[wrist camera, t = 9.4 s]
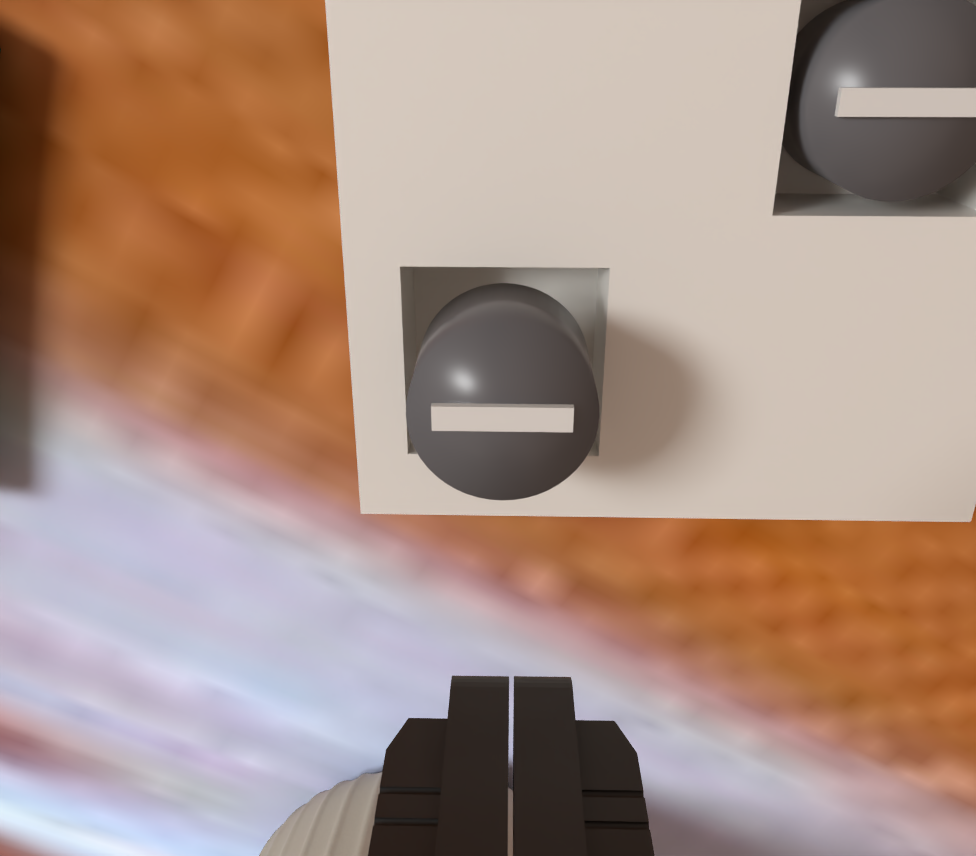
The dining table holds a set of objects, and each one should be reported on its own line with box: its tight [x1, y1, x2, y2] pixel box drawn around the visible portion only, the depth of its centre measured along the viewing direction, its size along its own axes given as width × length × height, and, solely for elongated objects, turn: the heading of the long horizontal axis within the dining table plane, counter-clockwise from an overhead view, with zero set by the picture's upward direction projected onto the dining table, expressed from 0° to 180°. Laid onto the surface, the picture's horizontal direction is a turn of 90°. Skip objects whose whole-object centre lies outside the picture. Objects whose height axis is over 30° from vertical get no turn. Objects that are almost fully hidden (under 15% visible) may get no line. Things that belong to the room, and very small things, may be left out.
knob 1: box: [406, 283, 600, 500], centre depth 21 cm, size 4×4×3 cm
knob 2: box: [782, 0, 976, 202], centre depth 21 cm, size 4×4×3 cm
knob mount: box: [325, 0, 976, 522], centre depth 22 cm, size 22×17×4 cm
